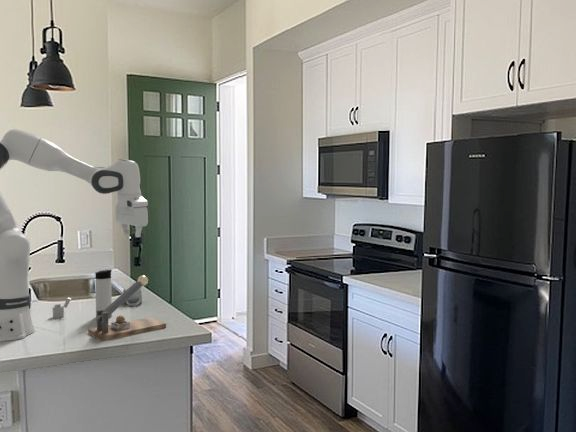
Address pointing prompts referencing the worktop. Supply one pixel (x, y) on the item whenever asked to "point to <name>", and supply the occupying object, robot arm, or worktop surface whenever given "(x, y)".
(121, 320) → the walnut
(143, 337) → the worktop surface
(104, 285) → the travel mug
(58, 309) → the lighter
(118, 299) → the lever
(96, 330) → the nutcracker base
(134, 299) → the ceramic mug
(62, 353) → the worktop surface
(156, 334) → the worktop surface
